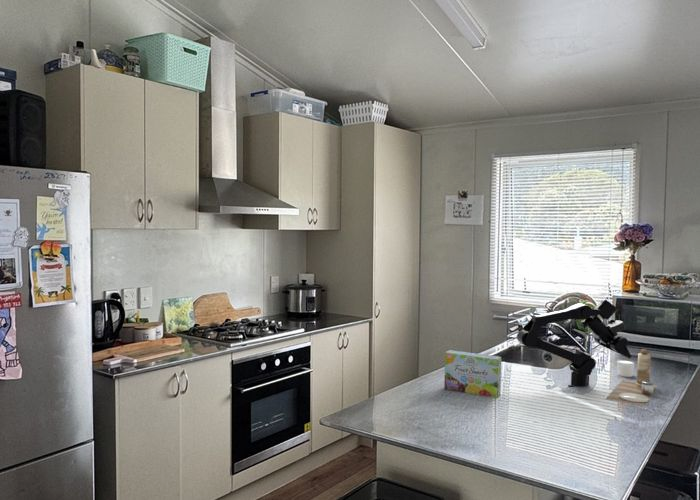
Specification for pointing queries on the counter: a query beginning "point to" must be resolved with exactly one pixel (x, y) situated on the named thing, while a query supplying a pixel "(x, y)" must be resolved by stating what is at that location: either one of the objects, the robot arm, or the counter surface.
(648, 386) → the spice tin
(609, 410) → the counter surface
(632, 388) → the serving board
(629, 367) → the white cup
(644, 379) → the pepper mill
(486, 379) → the snack box
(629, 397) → the white saucer
